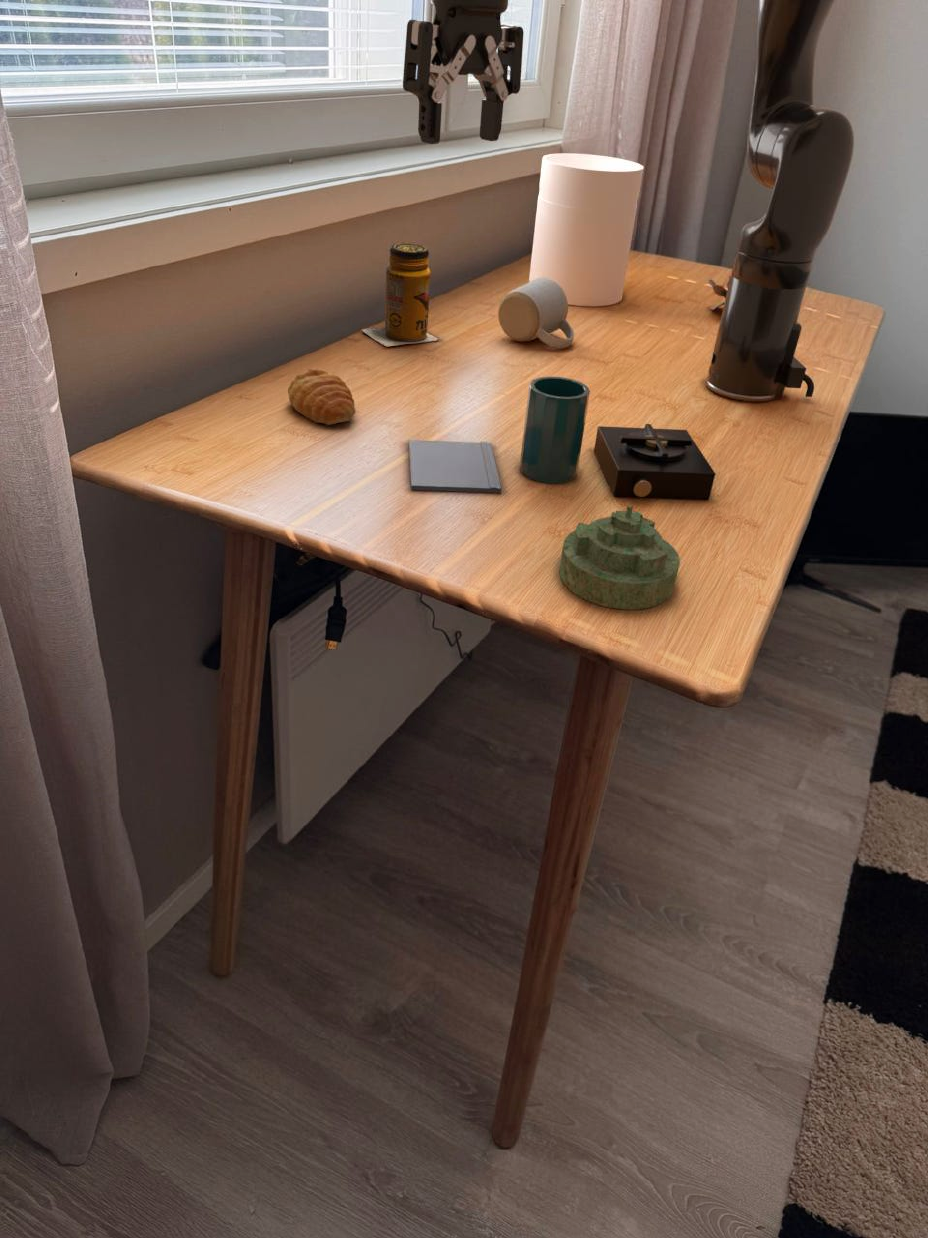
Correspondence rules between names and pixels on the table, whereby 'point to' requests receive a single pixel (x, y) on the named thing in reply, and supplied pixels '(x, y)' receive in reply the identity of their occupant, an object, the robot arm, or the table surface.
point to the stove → (653, 463)
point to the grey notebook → (453, 466)
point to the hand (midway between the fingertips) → (460, 141)
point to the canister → (585, 225)
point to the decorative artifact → (619, 562)
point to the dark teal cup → (553, 429)
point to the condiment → (405, 297)
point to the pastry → (321, 397)
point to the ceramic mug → (536, 313)
